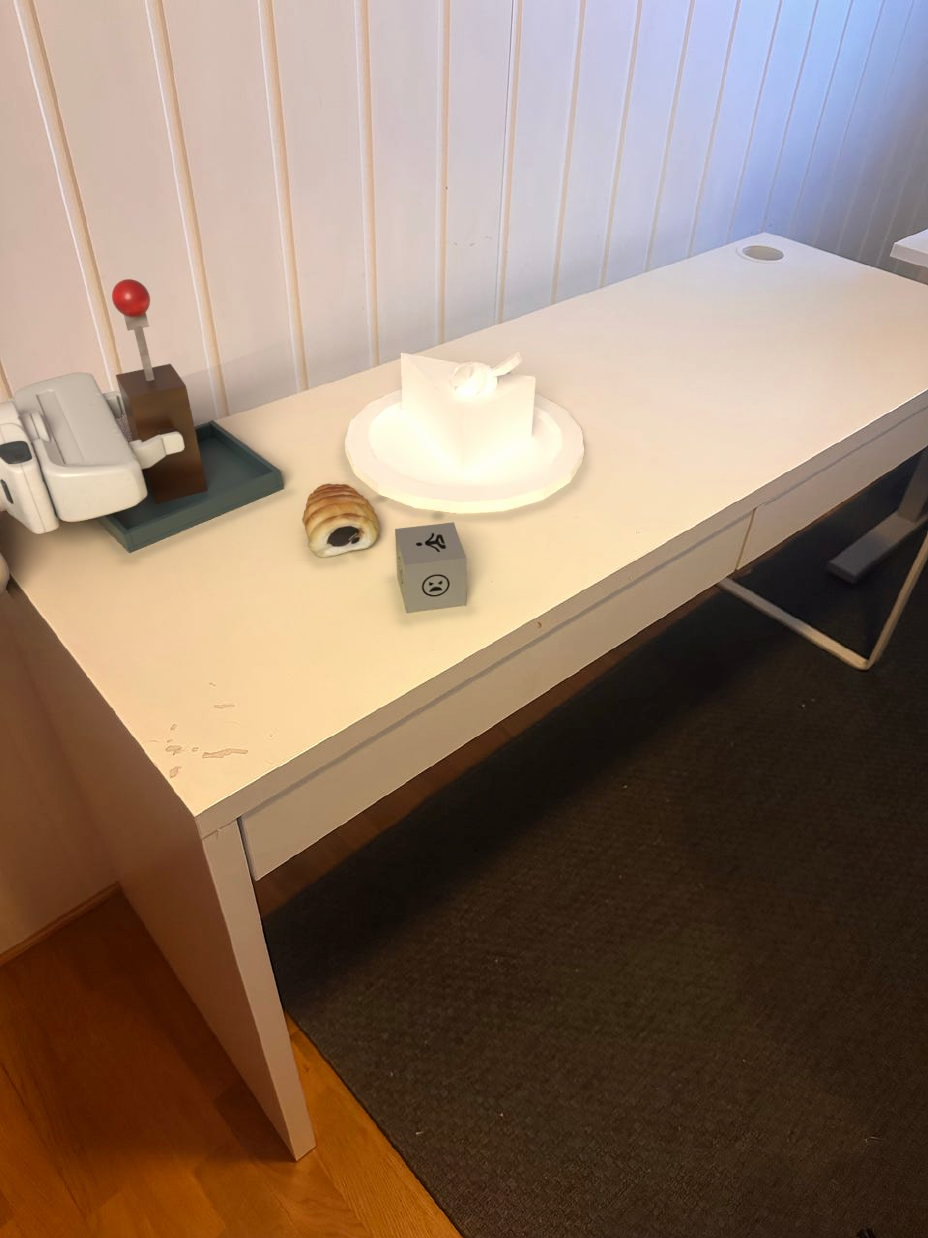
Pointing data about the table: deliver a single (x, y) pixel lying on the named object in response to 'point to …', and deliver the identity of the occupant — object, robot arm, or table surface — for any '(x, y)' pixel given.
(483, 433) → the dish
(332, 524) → the pastry
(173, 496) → the red ball lever
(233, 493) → the teal serving tray
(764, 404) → the table surface
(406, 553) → the dice cube
